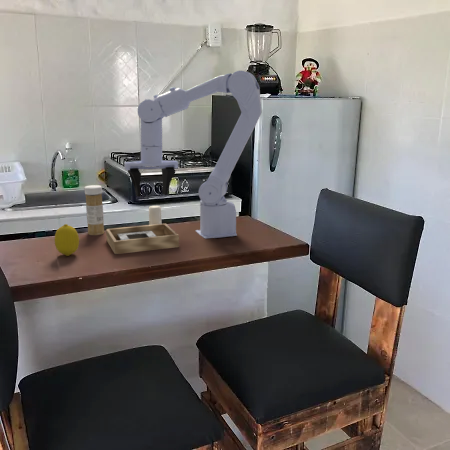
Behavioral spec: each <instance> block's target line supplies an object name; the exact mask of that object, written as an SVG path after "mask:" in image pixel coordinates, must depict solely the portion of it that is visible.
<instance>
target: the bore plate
mask: <svg viewBox="0 0 450 450" xmlns="http://www.w3.org/2000/svg"><path fill="white" fill-rule="evenodd" d="M147 237H157V236H156V235H155V234H154V233H153V232H152V231H151V230H150V231H140V232H130V233H120V234H117V241H118V240H128V239H137V238H147Z"/></svg>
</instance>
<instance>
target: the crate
mask: <svg viewBox="0 0 450 450" xmlns="http://www.w3.org/2000/svg"><path fill="white" fill-rule="evenodd" d="M150 230H151V231H152V232H153V233H154V234H155V235H156V236H157V237H147V238H137V239H128V240H118V241H117V234H120V233H130V232H140V231H150ZM105 233H106V234H105V235H106V242H107V244H108V245H109V247H110V249H111V250H112V252H113V253H114V255H122V254H131V253H137V252H146V251H155V250H165V249H172V248H174V249H175V248H180V235H179V234H178V233H177V232H176V231H175V230H174V229H173V228H172V227H170V226H169V225H168V224H167V223H162V224H155V225H149V224H145V225H137V226H123V227H114V228H107V229H106V230H105Z"/></svg>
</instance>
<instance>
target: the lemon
mask: <svg viewBox="0 0 450 450" xmlns="http://www.w3.org/2000/svg"><path fill="white" fill-rule="evenodd" d="M79 245H80V237H79V233H78V231H77V230H76V228H75V227H74V226H72V225H69V224H67V223H65V224H63V225H62V226H60V227H58V229H57V230H56V231H55V234H54V246H55V248H56V251H58V252H59V253H61V255H65V256H66V257H68V256H71V255H72V254H74V253H75V252H76V251H77V250H78V249H79V247H80V246H79Z"/></svg>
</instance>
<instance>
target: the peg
mask: <svg viewBox="0 0 450 450" xmlns="http://www.w3.org/2000/svg"><path fill="white" fill-rule="evenodd" d="M155 224H163V223H162V206H160V205H151V206H149V207H148V225H155Z"/></svg>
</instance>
